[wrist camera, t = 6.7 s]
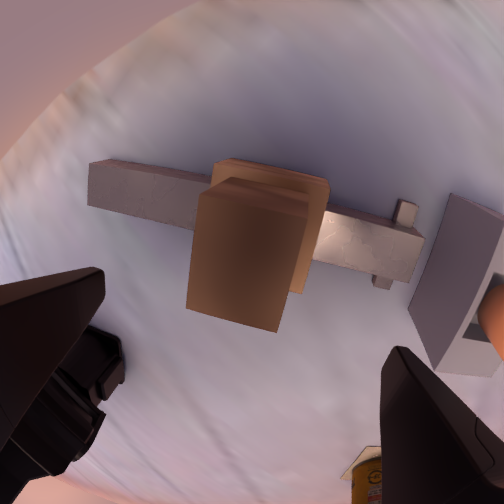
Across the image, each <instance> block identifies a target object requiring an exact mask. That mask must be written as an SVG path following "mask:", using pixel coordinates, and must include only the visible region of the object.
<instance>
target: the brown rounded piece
mask: <svg viewBox="0 0 504 504" xmlns="http://www.w3.org/2000/svg"><path fill="white" fill-rule="evenodd" d="M477 319H478V323H479V325H480V327H481V328H482V330H483V331H484V333H485V334H486V336H487V337H488V339H489V340H490V342H491V343H492V345H493V346H494V348H495V349H496V351H497V353H498V354H499V356H500V357H501V359H502V360H503V361H504V284H500V285H498V286H496V287H494V288H493V289H492V290H491V291H489V293H488V294H487V295H486V296H485V297H484V299H483V300H482V302H481V304H480V306H479V310H478V315H477Z"/></svg>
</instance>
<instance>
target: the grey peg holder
mask: <svg viewBox="0 0 504 504" xmlns="http://www.w3.org/2000/svg"><path fill="white" fill-rule="evenodd" d="M500 284H504V215H502V214H500V213H498V212H496V211H493V210H491V209H489V208H486V207H484V206H482V205H479V204H477V203H475V202H472V201H470V200H467V199H465V198H462V197H460V196H457V195H455V194H452V193H451V194H450V198H449V201H448V204H447V208H446V211H445V214H444V217H443V220H442V223H441V226H440V229H439V232H438V235H437V238H436V241H435V244H434V246H433V249H432V252H431V254H430V257H429V260H428V262H427V265H426V267H425V270H424V272H423V275H422V277H421V280H420V282H419V285H418V287H417V289H416V292H415V294H414V296H413V299H412V301H411V303H410V305H409V307H408V311H409V313H410V315H411V317H412V320H413V322H414V324H415V326H416V329H417V331H418V333H419V336H420V338H421V340H422V343H423V345H424V347H425V350H426V352H427V355H428V357H429V360H430V362H431V365H432V367H433V370H434V371H435V372H443V373H451V374H460V375H469V376H479V377H492V376H493V374H494V373H495V372H496V370H497V369H498V367H499V366H500V364H501V362H502V361H503V360H502V359H501V357H500V356H499V354H498V353H497V351H496V349H495V348H494V346H493V345H492V343H491V342H490V340H489V339H488V337H487V336H486V334H485V333H484V331H483V330H482V328H481V327H480V325H479V323H478V319H477V315H478V310H479V306H480V304H481V302H482V300H483V299H484V297H485V296H486V295H487V294H488V293H489V291H491V290H492V289H493V288H494V287H496V286H498V285H500Z"/></svg>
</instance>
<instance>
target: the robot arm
mask: <svg viewBox="0 0 504 504" xmlns="http://www.w3.org/2000/svg"><path fill="white" fill-rule="evenodd" d="M105 292H106V291H105V274H104V271H103V270H101V269H99V268H96V267H87V268H82V269H77V270H72V271H67V272H62V273H57V274H52V275H48V276H43V277H38V278H33V279H28V280H23V281H19V282H14V283H9V284H4V285H0V504H12V503H13V502H14V500H15V499H16V497H17V496H18V495H19V493H20V492H21V491H22V489H23V488H24V487H25V485H26V484H27V483H28V482H29V481H30V480H34V479H38V478H42V477H46V476H49V475H51V476H57V475H59V474H62V473H64V472H65V470H66V468H67V467H68V465H69V464H70V462H71V461H72V462H75V461H77V460H79V459H80V458H81V457H82V456H83V455H84V454H85V453H86V452H87V451H88V450H89V448H90V447H91V445H92V444H93V442H94V440H95V438H96V435H97V433H98V431H99V429H100V427H101V425H102V423H103V421H104V419H105V416H106V414H105V413H104V412H103V411H101V410H100V409H99V408H97V406H98V405H99V403H100V402H101V400H103V401H106V400H108V398H109V397H110V395H111V394H112V393H113V391H114V390H115V388H116V387H117V386H118V384H123V382H124V367H123V359H122V354H121V343H120V340H119V339H118V338H117V337H115V336H112V335H110V334H107V333H105V332H103V331H100V330H98V329H95V328H93V327H91V326H88V324H89V322H90V321H91V319H92V317H93V316H94V314H95V313H96V311H97V309H98V308H99V306H100V305H101V303H102V302H103V300H104V298H105ZM380 434H381V467H382V491H381V504H504V442H503V441H502V440H501V439H500V438H499V437H497V436H496V435H495V434H494V433H493V432H492V431H491V430H490V429H489V428H488V427H487V426H486V425H485V424H484V423H483V422H482V421H481V420H480V419H479V417H476V415H475V413H474V412H473V411H472V410H471V409H470V408H469V407H468V406H467V405H466V404H465V403H464V402H463V401H462V400H461V399H460V398H459V397H458V396H457V395H456V394H455V393H454V392H453V391H452V390H451V389H450V388H449V387H448V386H447V385H446V384H445V383H444V382H443V381H442V380H441V379H440V378H439V377H438V376H437V375H435V374H434V373H433V372H432V371H431V370H430V369H429V368H428V367H427V366H426V365H425V364H424V363H423V362H422V361H421V360H420V359H419V358H418V357H417V356H416V355H415V354H414V353H413V352H412V351H411V350H410V349H409V348H407V347H403V346H394V347H393V349H392V350H391V352H390V354H389V356H388V358H387V359H386V361H385V363H384V365H383V367H382V371H381V395H380Z"/></svg>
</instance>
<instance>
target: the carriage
mask: <svg viewBox="0 0 504 504" xmlns="http://www.w3.org/2000/svg"><path fill="white" fill-rule="evenodd" d="M330 190H331V189H330V186H329V184H328V181H327V179H324V178H320V177H316V176H312V175H308V174H304V173H300V172H295V171H291V170H287V169H282V168H278V167H273V166H269V165H264V164H259V163H254V162H250V161H245V160H239V159H234V158H230V159H226V160H223V161H220V162H217V163H214V166H213V173H212V179H211V185H210V188H209V189H208V190H206V191H204V192H202V193H201V194H199V199H198V207H197V214H196V221H195V229H194V237H193V245H192V254H191V263H190V272H189V281H188V291H187V301H186V309H190V310H193V311H197V312H200V313H204V314H207V315H211V316H214V317H218V318H221V319H225V320H229V321H232V322H236V323H240V324H243V325H247V326H251V327H255V328H259V329H263V330H267V331H271V332H275V333H277V330H278V327H279V324H280V320H281V317H282V313H283V310H284V306H285V303H286V299H287V296H288V292H289V291H291V292H295V293H299V294H302V292H303V288H304V285H305V281H306V278H307V275H308V271H309V268H310V264H311V261H312V257H313V254H314V250H315V247H316V243H317V239H318V236H319V232H320V228H321V225H322V221H323V217H324V213H325V209H326V205H327V202H328V198H329V194H330Z"/></svg>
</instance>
